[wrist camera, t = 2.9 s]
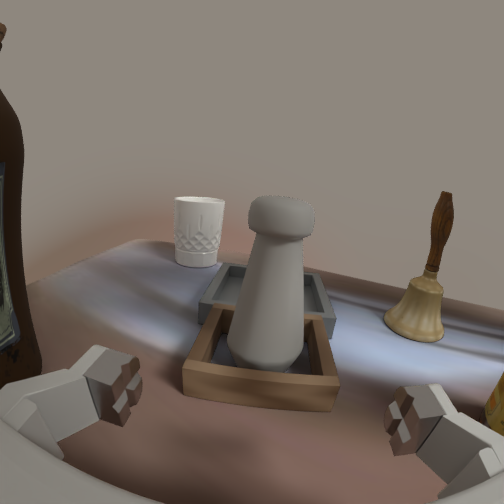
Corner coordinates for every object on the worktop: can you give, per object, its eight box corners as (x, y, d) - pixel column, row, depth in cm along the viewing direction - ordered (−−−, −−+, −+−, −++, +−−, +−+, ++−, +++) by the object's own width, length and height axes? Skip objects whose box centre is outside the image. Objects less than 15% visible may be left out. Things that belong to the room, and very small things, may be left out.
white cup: (177, 252, 49) (180, 195, 46) (222, 256, 49) (226, 198, 47) (166, 266, 41) (168, 199, 39) (218, 271, 42) (223, 203, 39)
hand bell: (449, 326, 29) (480, 202, 25) (434, 351, 23) (475, 196, 19) (397, 305, 35) (421, 188, 31) (372, 323, 29) (401, 180, 25)
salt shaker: (216, 348, 23) (227, 190, 20) (277, 340, 25) (297, 195, 22) (241, 394, 18) (261, 199, 14) (310, 378, 20) (346, 206, 17)
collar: (316, 337, 26) (321, 315, 25) (330, 411, 16) (340, 385, 16) (213, 325, 27) (214, 302, 26) (183, 394, 17) (181, 367, 16)
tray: (316, 289, 38) (318, 273, 38) (331, 338, 26) (336, 318, 25) (222, 278, 39) (223, 262, 39) (198, 323, 27) (198, 302, 26)
